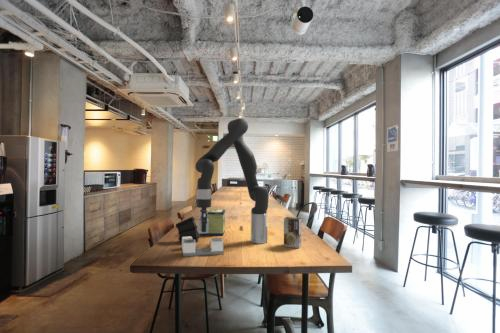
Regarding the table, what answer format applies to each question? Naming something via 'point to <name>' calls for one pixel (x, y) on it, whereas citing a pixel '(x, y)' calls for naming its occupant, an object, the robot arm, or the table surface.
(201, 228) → the block
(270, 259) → the table surface
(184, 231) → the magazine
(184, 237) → the block
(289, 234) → the coffee box
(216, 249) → the grey notched bar
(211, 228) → the protein box
